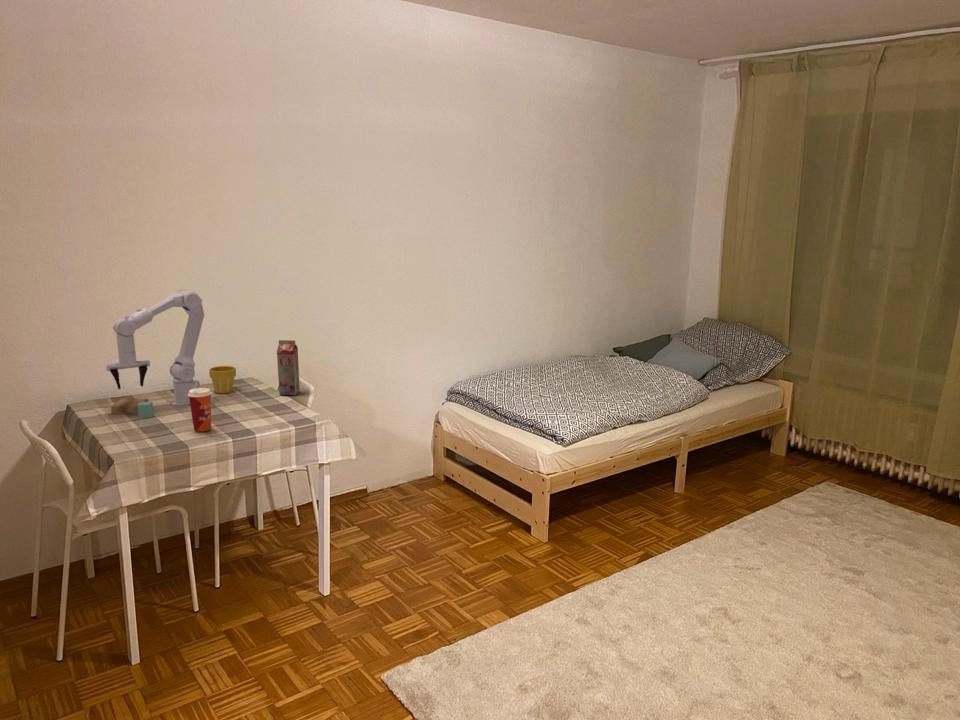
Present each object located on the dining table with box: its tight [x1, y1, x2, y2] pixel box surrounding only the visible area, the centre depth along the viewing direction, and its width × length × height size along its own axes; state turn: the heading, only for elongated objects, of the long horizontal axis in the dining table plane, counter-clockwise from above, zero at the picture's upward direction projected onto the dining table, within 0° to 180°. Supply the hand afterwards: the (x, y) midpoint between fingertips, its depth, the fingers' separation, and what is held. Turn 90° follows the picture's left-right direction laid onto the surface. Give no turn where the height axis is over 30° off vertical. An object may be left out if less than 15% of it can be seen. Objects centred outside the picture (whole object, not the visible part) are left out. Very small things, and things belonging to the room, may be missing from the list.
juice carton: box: [276, 339, 301, 396], centre depth 297 cm, size 7×7×22 cm
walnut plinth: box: [110, 398, 149, 415], centre depth 273 cm, size 10×10×3 cm
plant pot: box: [208, 365, 237, 394], centre depth 299 cm, size 10×10×10 cm
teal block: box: [137, 401, 154, 419], centre depth 266 cm, size 4×4×5 cm
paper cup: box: [188, 387, 212, 432], centre depth 252 cm, size 8×8×14 cm
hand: (130, 387), depth 270 cm, fingers open, 7 cm apart
